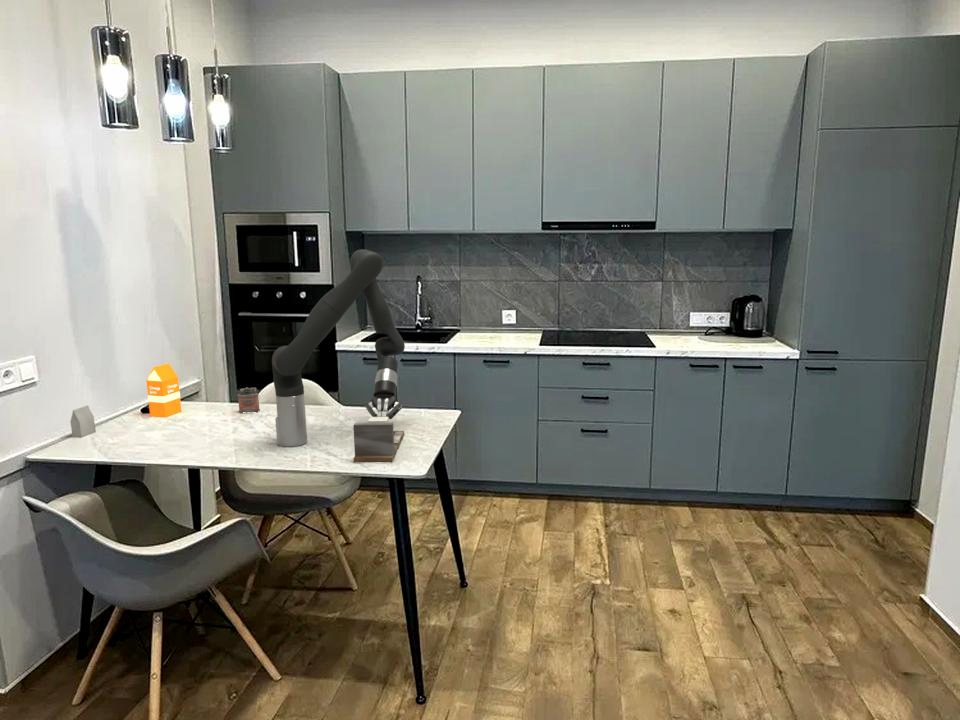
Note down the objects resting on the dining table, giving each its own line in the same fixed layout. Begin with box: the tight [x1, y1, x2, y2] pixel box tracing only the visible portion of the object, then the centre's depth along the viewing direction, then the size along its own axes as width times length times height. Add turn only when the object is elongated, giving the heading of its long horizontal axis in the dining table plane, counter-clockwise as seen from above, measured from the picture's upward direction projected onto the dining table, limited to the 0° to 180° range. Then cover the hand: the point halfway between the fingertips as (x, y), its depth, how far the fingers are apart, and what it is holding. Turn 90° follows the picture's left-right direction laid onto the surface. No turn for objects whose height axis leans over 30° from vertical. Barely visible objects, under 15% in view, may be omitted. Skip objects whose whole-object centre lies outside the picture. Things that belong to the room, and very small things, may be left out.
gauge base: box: [352, 421, 405, 463], centre depth 216 cm, size 28×12×12 cm, turn 179°
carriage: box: [367, 416, 398, 444], centre depth 213 cm, size 7×9×9 cm
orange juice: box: [146, 363, 182, 418], centre depth 260 cm, size 8×9×20 cm
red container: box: [237, 387, 261, 414], centre depth 262 cm, size 8×3×10 cm, turn 101°
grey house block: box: [69, 405, 96, 439], centre depth 235 cm, size 4×7×10 cm, turn 169°
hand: (381, 429), depth 218 cm, fingers closed
